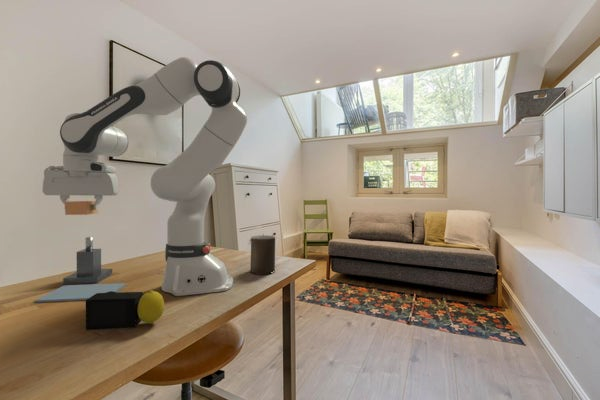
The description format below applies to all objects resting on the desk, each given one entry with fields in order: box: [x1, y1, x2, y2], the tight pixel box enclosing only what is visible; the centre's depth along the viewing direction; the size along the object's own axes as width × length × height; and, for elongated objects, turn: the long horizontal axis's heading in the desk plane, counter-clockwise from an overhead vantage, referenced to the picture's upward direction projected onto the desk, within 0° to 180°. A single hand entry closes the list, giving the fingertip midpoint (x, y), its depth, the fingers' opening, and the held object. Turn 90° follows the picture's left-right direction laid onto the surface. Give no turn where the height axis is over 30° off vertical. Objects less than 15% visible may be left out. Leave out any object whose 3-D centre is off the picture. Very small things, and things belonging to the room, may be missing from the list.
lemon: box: [137, 289, 165, 325], centre depth 64 cm, size 6×6×8 cm
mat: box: [34, 282, 127, 303], centre depth 82 cm, size 18×12×1 cm, turn 100°
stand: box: [62, 236, 113, 285], centre depth 95 cm, size 10×10×14 cm
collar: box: [64, 200, 99, 216], centre depth 87 cm, size 6×6×4 cm
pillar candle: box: [250, 233, 276, 275], centre depth 109 cm, size 10×10×15 cm
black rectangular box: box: [85, 291, 144, 331], centre depth 64 cm, size 10×5×7 cm, turn 98°
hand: (82, 209), depth 87 cm, fingers closed on collar, 6 cm apart
